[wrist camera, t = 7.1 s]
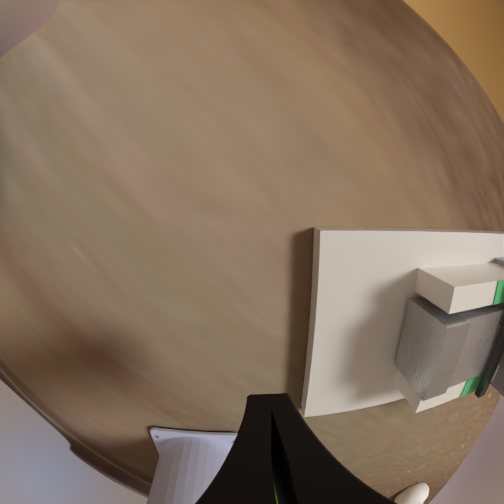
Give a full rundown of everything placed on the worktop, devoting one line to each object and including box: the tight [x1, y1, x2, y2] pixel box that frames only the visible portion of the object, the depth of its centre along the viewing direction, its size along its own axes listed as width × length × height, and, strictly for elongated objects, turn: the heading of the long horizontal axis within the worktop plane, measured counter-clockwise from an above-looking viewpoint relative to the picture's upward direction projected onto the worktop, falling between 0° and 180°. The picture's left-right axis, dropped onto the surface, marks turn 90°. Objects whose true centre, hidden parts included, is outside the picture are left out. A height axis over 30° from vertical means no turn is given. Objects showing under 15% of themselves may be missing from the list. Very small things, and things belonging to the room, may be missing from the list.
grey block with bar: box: [394, 297, 504, 401], centre depth 14 cm, size 8×9×5 cm
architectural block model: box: [301, 227, 504, 417], centre depth 14 cm, size 20×14×10 cm
